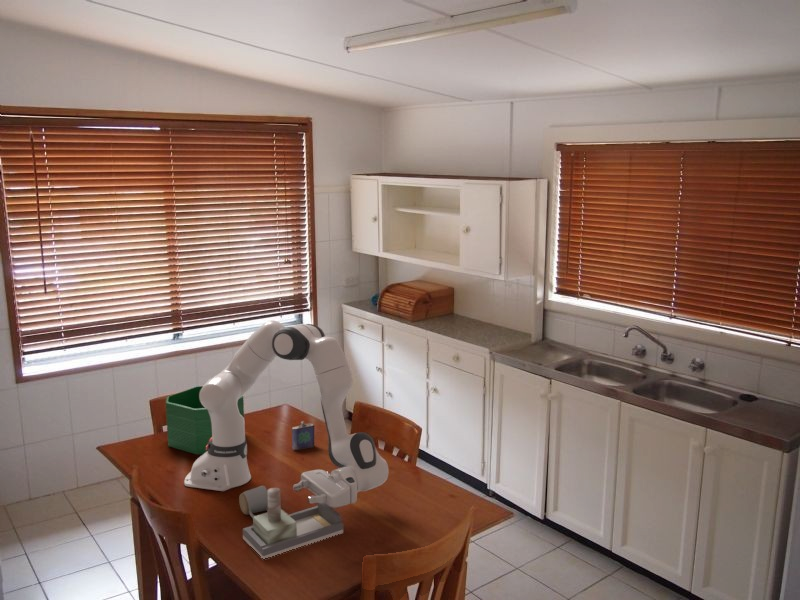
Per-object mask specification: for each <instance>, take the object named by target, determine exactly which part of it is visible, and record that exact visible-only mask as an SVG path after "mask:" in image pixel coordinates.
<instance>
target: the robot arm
mask: <svg viewBox="0 0 800 600" xmlns="http://www.w3.org/2000/svg"><path fill="white" fill-rule="evenodd" d="M277 357H278V358H280V359H283V360H287V361H303V360H305V359H306V360H308V361H309V362H310V364H311V365H312V367H313V371H314V374H315V378H316V381H317V385H318V388H319V394H320V404H321V410H322V414H323V418H324V419H323V420H324V422H325V427H326V432H327V436H328V458H329V459H330V461H331V463H332V464H334V465H335V466H336V467H337V468H336V469H333V470H331V472H329V471H326V470H324V469H313V470H308V471H304V472H302V473H301V474H300V481H299V482H298V483H295V484H293V486H292V489H293V491H295V492H299V491H301V490H302V488H303V489H307V490H309V491H310V492H311V493H312V494H313V495H309V496H308V497H307V499H308V500H307V501H308V503H309V504H318V503H326V504H327V505H329V506H330V507H331V508H332V509H336V508H340V507H346V506H348V505H349V504H351V505H352V504H356V503H357V499H358V498H357V497H358V493H359V492H366V491H369V490H370V491H371V490H372V489H375V488H377V487H379V486H382V485H383V484H384V483H385V482H386V481H387V480H388V477H389V470H390V469H389V466H388V463H387V460H386V459H385V458H383V457H382V456H381V454H380V453H379V452H378V449H377V448H376V443H375V441H374V439H373V438H372V436H370V435H369V433H366V432H363V431H361V432H355V433H352V434H349V432H348V431H347V430H348V429H347V426H346V422H345V418H344V413H343V404H344V401H345V400H346V397H347V396H348V395H349V393H350V392H351V389H352V388H353V384H354V383H353V376H352V370H351V369H350V365H349V362H348V359H347V357H346V355H345V353H344V350H343V348H342V346H341V344H340V342H339V341H338V340H337V338H335V337H334V336H333V337H332V336H326V334H325V333H324V331H323V329H322V328H321V327H320V326H318V325H315V324H311V323H306V324H305V323H304V324H300V323H299V324H294V325H289V326H285V325H283V324H282V323H281V322H280V321H276V320H268V321H266V322H264V323H263V324H262V325H261V326H260V327H258V328H257V329H256V330H255V331H253V333H252V334H251V335H250V336H249V337H248V338H247V339H246V340H245V342H244V343H243V344H242V345H241V346H240V347H239V348H238V349H237V351H236V352H234V354H233V358H232V359H231V361H230V362H229V364H227V366H225V368H224V369H223V370H221V371H220V372H218V374H216V375H214V376H212V377H211V378H210V379H208V380H207V381H206V382H205V384H203V385H202V386H203V387H202V389H201V390H200V394H199V398H200V402H201V404H202V405H203V406H204V407H205V408H206V409H207V410H208V412H209V415H210V419H211V425H212V437H211V439H210V440H209V442H208V443H207V446H206V450H208V451H207V452H206V453H204V454H201V455H200V456H199V457H197V459H195V461H194V462H193V464H192V466H191V470H190V472H188V473H187V475H186V476H185V478H184V481H183V484H184V486H185V487H188V488H189V487H190V488H196V489H197V488H198V489H203V490H204V489H205V490H211V491H212V490H213V491H217V492H218V491H220V492H225V491H227V490H230V489H233V488H236V487H240V486H242V485H245V484H247V483H248V482H249V481H250V480H251V479H252V475H251V473H250V468H249V465H248V459H247V455H248V444H247V438H246V429H245V428H246V427H245V426H246V425H245V416H244V417H243V416H242V415H241V414H240V413H239V409H238V405H237V403H238V399H239V398H240V397H242V396H243V397H244V396H245V395H246V394H247V393H248V391H249V390H250V389H251V387H252V386H253V385H254V384H255V383H256V381H257V380H258V378H259V377H260V375H262V374H263V373H264V371H265V370H266V369H267V368H268V367H269V366H270V365H271V363H272V362H274V360H275V359H276V358H277Z"/></svg>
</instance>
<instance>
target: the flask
mask: <svg viewBox="0 0 800 600" xmlns="http://www.w3.org/2000/svg"><path fill="white" fill-rule="evenodd" d="M291 434H292V435H291V440H292V441H291V442H292V443H291V446H292V447H291V449H292V451H299V450H305V449H308V448H309V449H310V448H314V447H315V424H314V423H305V421H304V420H301V421H300V425H298V426H297V425H296V426H292V428H291Z"/></svg>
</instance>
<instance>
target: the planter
mask: <svg viewBox="0 0 800 600" xmlns="http://www.w3.org/2000/svg"><path fill="white" fill-rule="evenodd" d="M203 386H204V385H201V386H199V385H197V386H194V387H191V388H188V389H186V390H183V391H179V392H177V393H173V394H171V395H169V396H166V399H165V413H166V430H167V433H166V434H167V446H168V447H170V448H174V449H177V450H181V451H185V452H188V453H190V454H193V455H203V454H204V453H206V452H207V451H208V450H206V446H207V443H208V442H209V440H210V439H211V437H212V425H211V419H210V415H209V412H208V410H207V409H206V408H205V407H204V406H203V405H202V404H201V402H200V398H199V394H200V390H201V389H202V387H203ZM244 401H245V400H244V395H243V396H242V397H240V398H239V399H238V403H237V405H238V409H239V413H240V414H241V415H242V416H243V417H244V418H245V407H244V404H245V403H244Z"/></svg>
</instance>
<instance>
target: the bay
mask: <svg viewBox="0 0 800 600" xmlns="http://www.w3.org/2000/svg"><path fill="white" fill-rule="evenodd" d="M288 515H289V516H290V517H291V518H292V519H294V520H295V521H296V524H297V536H295V537H292V538H289V539H286V540H283V541H280V542H277V543H274V544H271V545H268V546H266V544H265V543H264V542H263V541H262V540H261V539H260V538H259V537H258V536H257V535H256V534H255V533H254V532H253V525H250V526H247V527H244V528H242V540H244V541H245V543H246V544H247V545H249V547H250V546H251V547H252V548H253V549H254V550H255V551H256V552H257V553H258V554H259V555H260V556H261V557H260V556H259V555H258V554H257V553H256V552H255V551H254V550H253V549H252V548H251V547H250V548H251V549H252V550H253V551H254V552H255V553H256V554H257V555H258V556H259V557H260V558H261V559H262V558H263V559H265V558H268V557H271V558H273V557H272V556H274V557H276V556H275V555H277V554H280V555H282V554H281V553H283V552H286V551H289V550H292V549H295V550H297V549H296V548H298V547H301V546H304V545H306V546H309V545H312V544H314V542H315V543H318V542H321V541H323V539H324V540H327V539H330V538H332V536H333V537H335V535H336V536H339V535H341V534H342V535H343V534H344V522H342V515H341V514H340V513H339V512H337V510H335V508H333V507H330V506H329V505H328V504H326V503H317V505H315V506H313V507H309V508H305V509H302V510H300V511H299V510H298V511H296V512H292V513H289V514H288ZM338 534H339V535H338ZM329 537H330V538H329ZM326 538H327V539H326ZM320 540H321V541H320ZM317 541H318V542H317ZM311 543H312V544H311ZM308 544H309V545H308ZM304 547H305V546H304ZM301 548H302V547H301ZM298 549H299V548H298ZM292 551H293V550H292ZM289 552H290V551H289ZM286 553H287V552H286ZM283 554H284V553H283ZM277 556H278V555H277ZM263 559H262V560H263ZM268 559H269V558H268ZM265 560H266V559H265Z"/></svg>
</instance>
